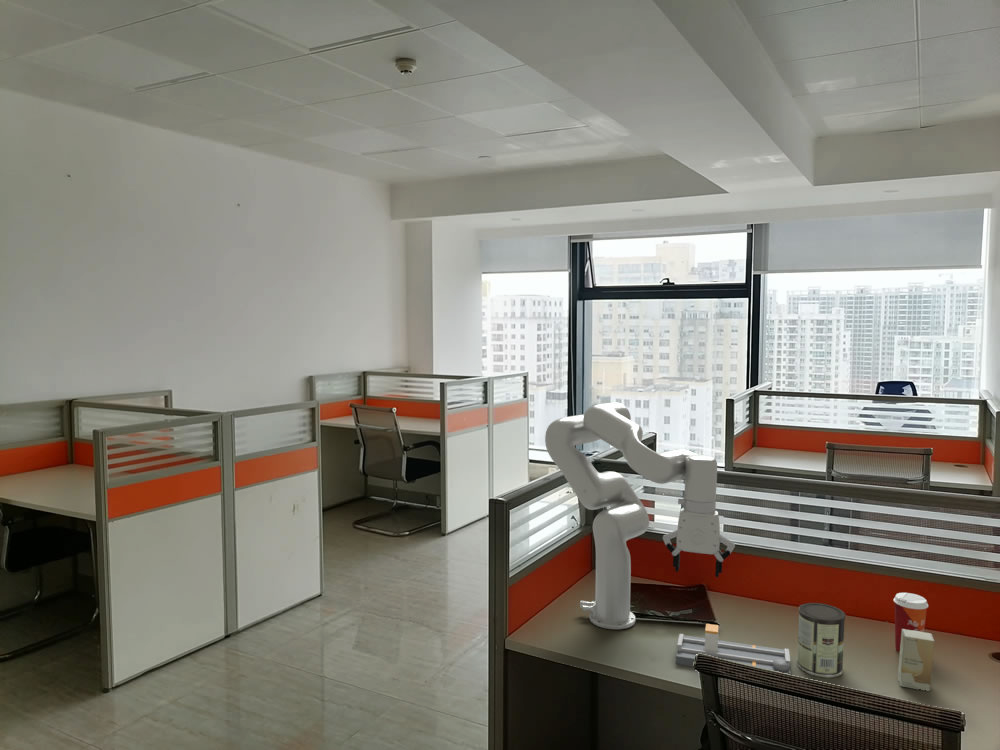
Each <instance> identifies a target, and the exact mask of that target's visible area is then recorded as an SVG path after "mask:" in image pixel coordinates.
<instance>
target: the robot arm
mask: <svg viewBox="0 0 1000 750" xmlns="http://www.w3.org/2000/svg"><path fill="white" fill-rule="evenodd" d="M631 419H632V418H631V412H630V410H629V409H628V408H627V406H625V405H624V404H622V403H621V402H616V401H612V402H604V403H598V404H594V405H592V406H590V407H589V408H587V409H586V410H585V412H584V413H583V414H577V415H570V416H565V417H560V418H558V419H555V420H553V421H552V422H551V423H550V424H549V425H548V426H547V428H546V430H545V435H544V442H545V448H546V451H547V453H548V455H549V457H550V459H551V460H552V461H553V463H554V464H555V465H556V467H558V469H559V471H560V472H561V473H562V475H563V476H564V478H565V479H566V482H568V485H569V486H570V487H571V489H572V491H573V492H574V494H575V495H576V497H577V499H578V500H579V501H580V503H581V505H582V506H583V508H585V509H587V510H590V511H591V510H592V511H594V510H599V509H602V508H606V507H610V508H606V509H604V510H602V511H600V512H599V513H598V514H597V515H596V516H595V518H594V519H593V522H592V532H593V538H594V545H595V597H594V599H595V600H592V601H588V600H580V602H579V607H580V608H582V611H583V612H590V613H589V621H590V622H591V623H592V624H593V625H595V626H597V627H599V628H602V629H608V630H625V629H629V628H631V627H633V626H634V625H635V624H636V615H635V614H634V613H633V612H632V611H631V579H632V576H631V573H632V571H631V570H632V569H631V567H632V566H631V565H632V564H631V563H632V562H631V561H632V560H631V554H630V550H629V548H628V546H627V541H629V540H631V539H634V538H636V537H639V536H642V535H643V534H645V532H647V530H648V529H649V527H650V518H649V517H650V516H649V513H648V511H647V510H646V507H645V505H644V504H643V502H642V501H641V499H640V498H639V497H638V495H637V494H636V492H635V491H634V489H633V488H632V486H631V484H630V483H629V481H628V480H627V479H626V478H625V477H624V476H623V475H622V474H620V473H618V472H616V471H613V470H611V471H610V470H608V471H602V472H599V471H598V470H597V469H596V468H595V466H594V465H593V464H592V462H591V460H590V458H588V456H587V455H585V453H583V452H581V451H580V450H579V449H577V448H576V446H579V445H584V444H588V443H589V444H590V443H593V442H597V441H599V440H602V441H603V442H605V443H607V444H608V445H610V446H611V447H612V448H614V449H616V450H618V451H619V452H621V453H622V456H623V458H624V460H625V461H626V463H627V465H628V466H629V467H630V468H631V469H632V471H634V472H635V473H637V474H639V475H640V476H641V477H644V478H645V479H647V480H648V481H650V482H653V483H655V484H659V485H663V484H668V483H671V482H675V481H679V480H684V497H683V498H678V500H677V504H678V505H681V506H682V508H681V509H680V510H679V515H678V521H677V530H673V531H672V532H668V533H666V534H663V535H662V540H663V542H664V545H665V546H666V548H667V550H668V551H669V552H670V553H671V555H672V556H673V557H672V568H675V569H674V571H675V573H676V572H679V570H680V567H681V566H680V563H681V553H680V552H681V551H683V552H686V553H687V552H689V553H695V554H704V555H705V554H707V555H714V557H715V559H716V560H715V571H714V572H715V575H714V576H715V578H719V575H720V574H722V573H723V562H724V560H725V559H727V558H728V557H729V556H730V555H731V553H732V552H733V550H734V549H735V547H736V544H735V543H734V542H733V541H732V540H730V539H728V538H727V537H725V536H723V535H722V534H721V526H720V524H721V523H720V516H719V512H718V511H717V510H716V506H717V504H716V503H717V485H718V484H717V483H718V481H717V480H718V461H717V459H716V458H715V457H713V456H711V455H707V454H697V453H695V452H693V451H690V450H688V449H684V448H675V449H672V450H667V451H663V452H659V453H658V452H657V451H655V450H652V449H651V448H649V447H648V446H646V445H645V444H643V443H642V440H643V436H644V435H643V434H644V431H643V427H642V426H641V425H639V424H638V423H636V422H635V421H633V420H631ZM674 538H676V546H675V545H674V544H673V543H672V542H671V540H672V539H674ZM721 543H722V544H723V545H725V546H726V549H725V550H724V551H723V552H722V551H721V549H720V544H721Z"/></svg>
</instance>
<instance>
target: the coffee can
mask: <svg viewBox="0 0 1000 750" xmlns="http://www.w3.org/2000/svg"><path fill="white" fill-rule="evenodd" d="M845 620H846V613H845V612H844V611H843V610H842V609H841V608H838V607H837V606H833V605H830V604H826V603H821V602H819V603H818V602H808V603H807V602H806V603H803V604H801V605H799V606H798V632H797V636H798V637H797V661H796V664H798V665H797V666H799V667H800V668H799V667H798V668H799V669H800V670H801V669H802V671H803V672H804V671H805V673H807V674H809V675H812V676H815V677H820V678H829V679H830V678H837V677H839V676H841V675H842V674H843V672H844V670H843V668H844V667H843V664H844V661H843V660H844V638H845V635H844V634H845Z"/></svg>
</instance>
